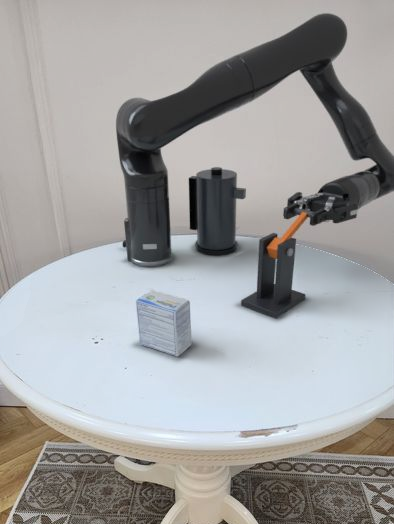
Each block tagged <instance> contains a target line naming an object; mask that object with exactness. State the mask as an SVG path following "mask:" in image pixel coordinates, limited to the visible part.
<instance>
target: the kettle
mask: <svg viewBox="0 0 394 524" xmlns="http://www.w3.org/2000/svg"><path fill="white" fill-rule="evenodd" d="M246 196H247V188H244V187H238V173H237V172H236V171H235V170H231V169H225V168H222V167H219V166H214V167H211V168H209V169H204V170H200V171H198V172H196V174H195V175H191V176H190V177H188V207H189V230H192V231H196V241H195V243H194V246H195V247H194V248H195V251H196V252H198V253H199V254H202V255H205V256H213V257H221V256H227V255H230V254H233V253H235V252H237V250H238V241H237V240H236V238H237V237H236V236H237V235H236V233H237V225H236V224H237V200H244V199H246Z"/></svg>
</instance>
